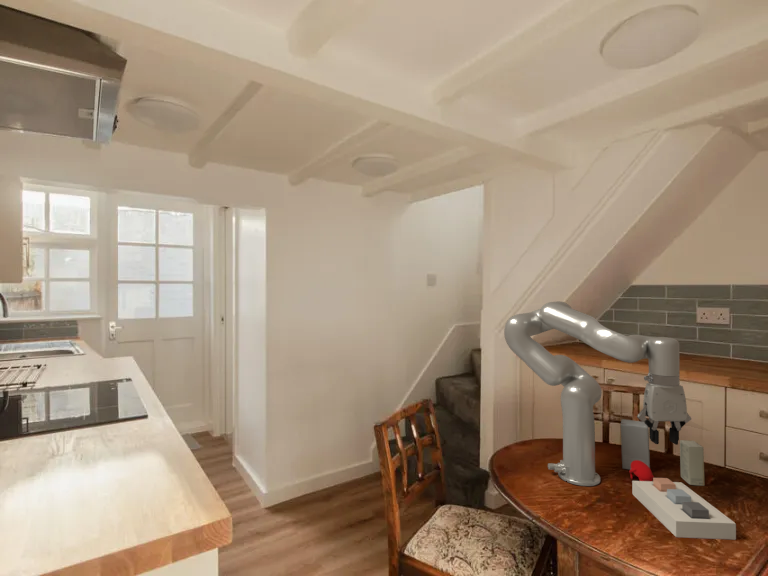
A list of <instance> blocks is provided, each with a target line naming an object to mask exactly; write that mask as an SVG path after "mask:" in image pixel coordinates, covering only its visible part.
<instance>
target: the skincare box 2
mask: <svg viewBox="0 0 768 576" xmlns="http://www.w3.org/2000/svg"><path fill="white" fill-rule="evenodd" d="M704 453H705V452H704V446H702V445H701V444H699V443H698V442H696V441H695V440H681V439H679V459H680V460H679V461H680V463H679V464H680V465H679V466H680V477H681V478H682V480H684V481H685V482H686V483H687V484H688V485H691V486H701V487H705V460H704V457H705V455H704Z"/></svg>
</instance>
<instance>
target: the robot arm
mask: <svg viewBox="0 0 768 576" xmlns="http://www.w3.org/2000/svg"><path fill="white" fill-rule="evenodd" d="M551 330H556V331H558V332H560V333H563V334H565V335H568V336H570V337H573V338H575V339H578V340H579V341H581V342H583V343H584V344H585V345H588V347H589V346H590V347H591V348H593V349H594V350H597V351H598V352H601V353H603V354H605V355H607V356H609V357H612V358H614V359H616V360H619V361H622V362H624V363H629V364H631V363H637V362H639V361H640V360H643V359H647V360H648V373H647V375H644V376H643V379H644V381H647V382H648V383H645V384H646V385H645V388H644V393H643V401H642V409H641V410H640V411H639V413H637V416H636V417H637V418H638V419H639V420H640V421H642V422H644V423H645V424H646V425H647V426H648V430H649V440H650V441H651V442H652V443H653V444H655V445H659V443H660V431H659V430H658V425H659V423H660V422H670V427H669V428H668V429H669V431H668V434H669V435H668V437H669V438H668V439H669V442H671V443H672V444H674V445H677V446H678V445H679V442H680V431H681V430H682V428H683V427H684V426H685V425H686V424H687V423H689V422H690V421H691V420H692V417H691V416H690V414H689V413H688V408H687V398H686V394H685V390H684V387H683V385H680V378H681V377H680V376H681V375H680V342H679V340H678V339H676V338H673V337H666V336H665V337H664V336H655V337H653V336H649V335H648V336H647V335H642V334H630V335H625V334H622V333H620V332H617V331H614V330H613V329H610V328H608V327H606V326H604V325H602V324H601V323H600V322H599V321H598V320H597V319H596V317H594V316H592V315H591V314H587V313H584V312H582V311H579V310H576V309H574V308H572V307H571V306H570V305H569V304H568V303H567V302H565V301H549V302H547V303H545V304H543V305H542V307H540V308H538V309H536V310H534V311H530V312H526V313H525V312H524V313H517V314H514V315H512V316H510V317H509V318H508V320H507V321H506V322H505V325H504V330H503V331H504V338H505V339H504V340H505V342H506V345H507V346H508V348H510V350H511V351H512V352H513V353H514V354H515V355H516V356H517V357H518V358H519V359H520V360H521V361H522V362H524V363H525V364H526V365H527V367H529V368H530V370H531V371H532V372H533V373H535V374H536V375H537V377H539V378H540V379H541V380H542V381H543V383H545V384H547V385H548V386H552V387H554V386H559V385H562V387H563V388H562V390H561V392H560V406H561V412H562V459H560V460H559V461H560V462H557V463H553V462H551V463H547V468H548V469H547V470H549V471H550V470H553V471H554V473H557V475H558V477H559V478H560V479H562V481H564V482H566V481H567V483H568V484H569V483H570V484H572V485H576V486H581V487H593V486H597V485H599V484H600V483H601V476H600V475H599V474H598V473H597V472H596V437H595V436H596V433H595V432H596V431H595V428H596V427H595V426H596V425H595V416H594V405H596V404H597V403H598V402H599V401H600V399H601V398H602V393H603V391H602V387H601V385H600V384H599V382H598V381H597V379H596V378H594V377H593V376H592V375H591V374H590V373H588V372H587V370H585V369H584V368H583V367H582V366H580V365H579V364H578V363H577V362H575V360H573V359H572V358H570V357H569V356H566V355H563V354H555V355H553V354H552V353H551V352H550V351H549V350H547V349H546V348H545V347H544V346H543V345H542V344H541V343H539V342H538V341H536V340H535V339H533V338H532V337H533V336H536V335H539V334H542V333H545V332H548V331H551ZM646 417H647V418H648V419H647V418H646Z"/></svg>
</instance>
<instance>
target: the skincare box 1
mask: <svg viewBox="0 0 768 576" xmlns="http://www.w3.org/2000/svg"><path fill="white" fill-rule="evenodd" d="M620 438H621V439H620V440H621V441H620V442H621V462H622V464H621V465H622V469H623V470H629V471H630V469H631V463H632V461H634V460H639V461H642V462H644V463H645V464H646V465H647V466H648V467H649V468H650V469H651V465H650V464H651V463H650V460H651V459H650V458H651V457H650V437H649V427H648V426H647V425H646V424H645V423H644V422H643V421H641V420H640V421H639V420H633V419H632V420H631V419H625V418H624V419H623V418H622V419H621V422H620Z"/></svg>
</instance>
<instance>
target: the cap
mask: <svg viewBox="0 0 768 576" xmlns="http://www.w3.org/2000/svg"><path fill="white" fill-rule="evenodd" d="M628 472H629V475H630V479H631V480H633V478H634V477H633V476H634V475H635V476H636V477H638V481H653V478H655V476H654V474H653V472H652V470H651V467H650V468H649V467H648V466H647V465H646V464H645V463H644V462H642V461H639V460H634V461H632V463H631V469H630V470H629V471H628ZM633 474H634V475H633Z"/></svg>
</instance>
